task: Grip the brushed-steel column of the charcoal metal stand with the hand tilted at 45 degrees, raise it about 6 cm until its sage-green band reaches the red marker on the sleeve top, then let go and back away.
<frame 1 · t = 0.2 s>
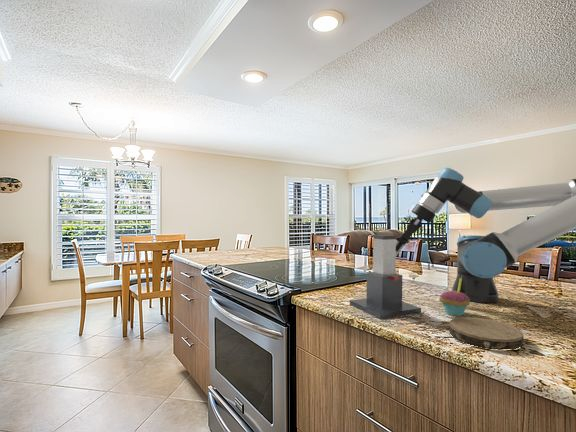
hand: (391, 256, 118), 16 cm above the worktop, tool tilted 35°, fingers open, 13 cm apart
wooden slice coaster: (484, 339, 81), on the worktop
column: (384, 268, 106), point 13 cm above the worktop, slide at 0.0 cm
cupcake: (454, 314, 101), on the worktop
stand base: (383, 308, 106), on the worktop
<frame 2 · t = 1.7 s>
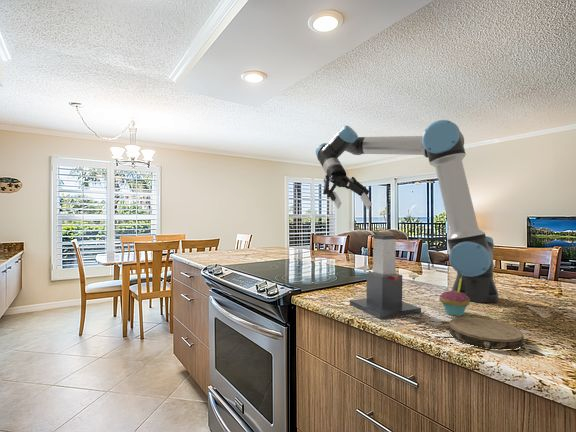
hand: (354, 206, 121), 34 cm above the worktop, tool tilted 45°, fingers open, 13 cm apart
nothing on the worktop moved.
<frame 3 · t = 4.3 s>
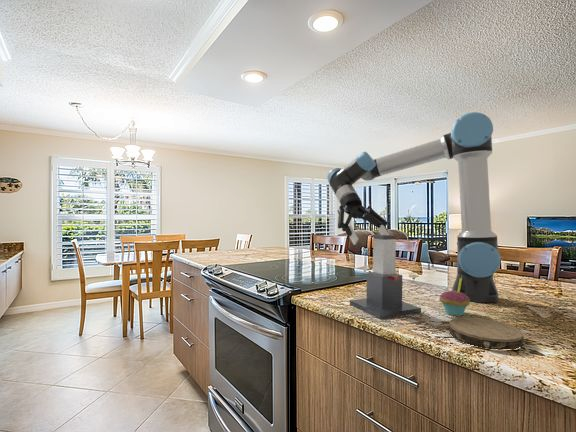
hand: (373, 241, 110), 22 cm above the worktop, tool tilted 45°, fingers open, 13 cm apart
nothing on the worktop moved.
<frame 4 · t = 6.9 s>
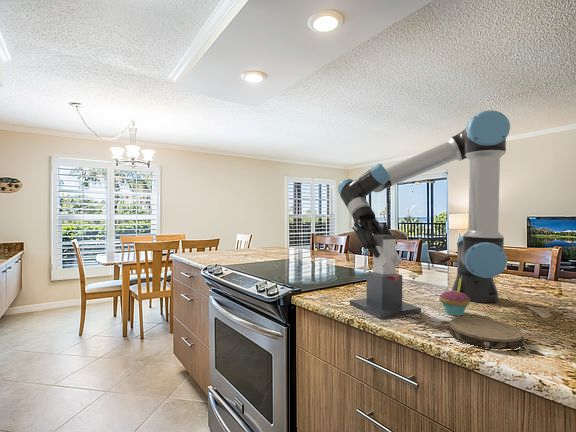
hand: (392, 263, 102), 15 cm above the worktop, tool tilted 45°, fingers closed on column, 5 cm apart
column: (384, 268, 106), point 13 cm above the worktop, slide at 0.0 cm, touching gripper
everything else where it was.
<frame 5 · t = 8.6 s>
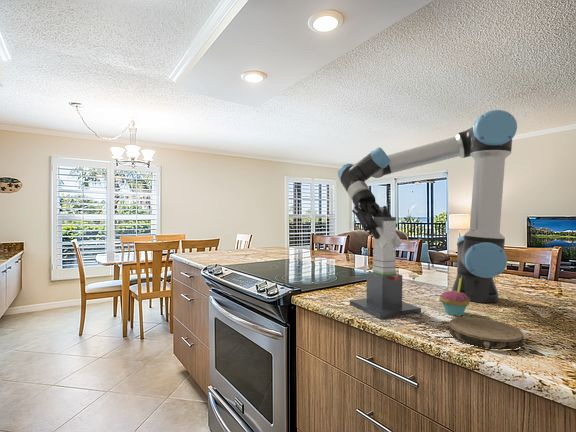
hand: (392, 245, 102), 21 cm above the worktop, tool tilted 45°, fingers closed on column, 5 cm apart
column: (384, 250, 106), point 19 cm above the worktop, slide at 6.0 cm, touching gripper
everything else where it was.
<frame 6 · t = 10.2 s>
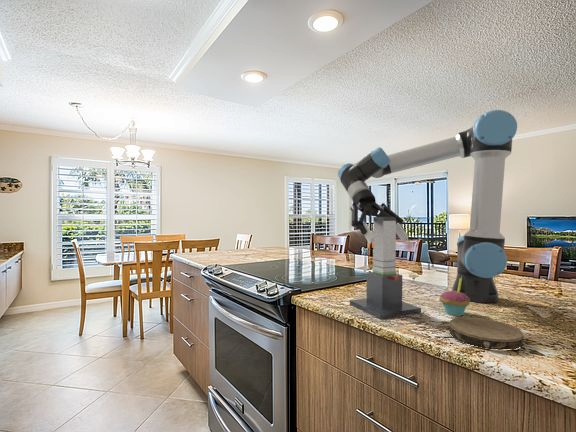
hand: (389, 240, 103), 23 cm above the worktop, tool tilted 45°, fingers open, 13 cm apart
column: (384, 250, 106), point 19 cm above the worktop, slide at 6.0 cm
everything else where it was.
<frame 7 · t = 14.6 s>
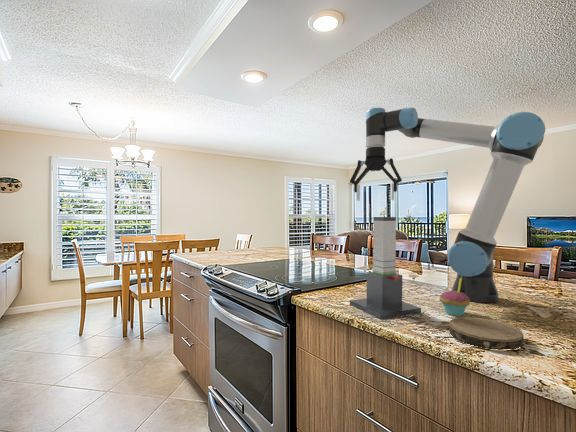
hand: (375, 200, 130), 37 cm above the worktop, tool pointing down, fingers open, 13 cm apart
nothing on the worktop moved.
at the end: column slide at 6.0 cm; the gripper is holding nothing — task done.
